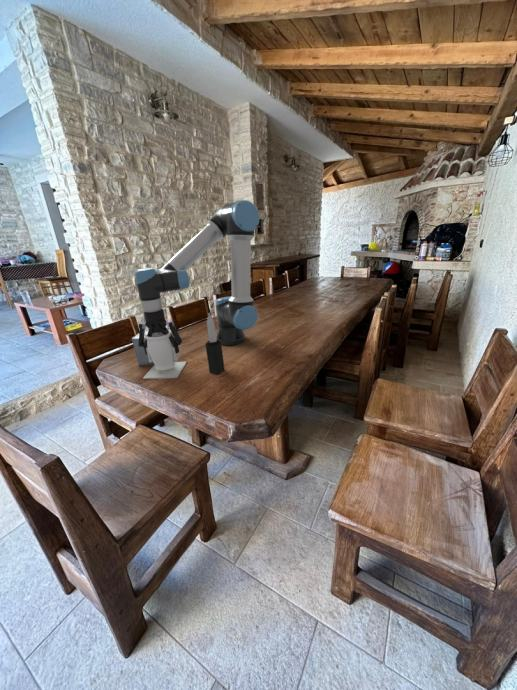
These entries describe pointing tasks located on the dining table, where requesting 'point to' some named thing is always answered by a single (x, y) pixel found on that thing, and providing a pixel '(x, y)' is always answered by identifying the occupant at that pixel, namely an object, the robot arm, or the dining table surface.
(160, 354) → the jar
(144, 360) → the block
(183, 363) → the mat
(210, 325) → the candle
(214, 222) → the robot arm
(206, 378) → the dining table surface
